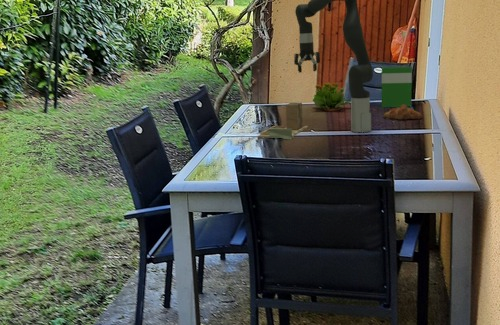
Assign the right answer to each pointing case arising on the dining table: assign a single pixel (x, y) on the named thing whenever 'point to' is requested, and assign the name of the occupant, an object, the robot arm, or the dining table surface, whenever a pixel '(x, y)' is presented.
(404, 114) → the pastry
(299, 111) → the walnut block
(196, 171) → the dining table surface
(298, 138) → the dining table surface
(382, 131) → the dining table surface
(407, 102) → the hardback book
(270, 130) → the tray
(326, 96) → the green leafy plant
